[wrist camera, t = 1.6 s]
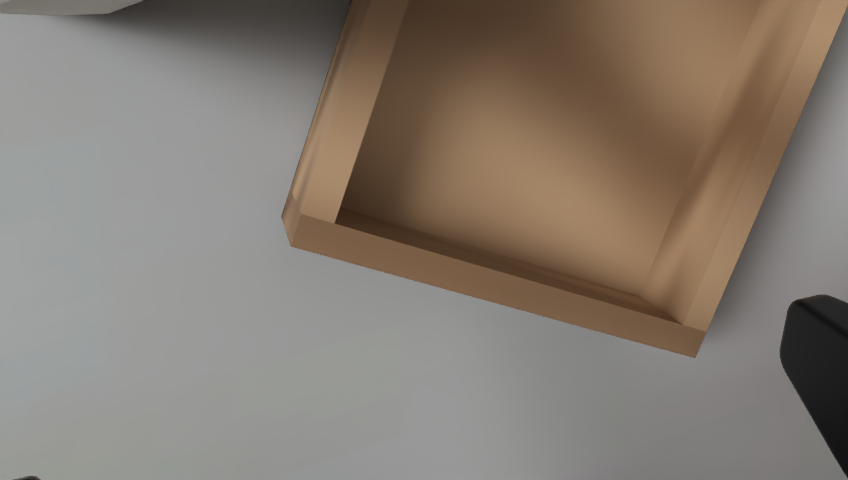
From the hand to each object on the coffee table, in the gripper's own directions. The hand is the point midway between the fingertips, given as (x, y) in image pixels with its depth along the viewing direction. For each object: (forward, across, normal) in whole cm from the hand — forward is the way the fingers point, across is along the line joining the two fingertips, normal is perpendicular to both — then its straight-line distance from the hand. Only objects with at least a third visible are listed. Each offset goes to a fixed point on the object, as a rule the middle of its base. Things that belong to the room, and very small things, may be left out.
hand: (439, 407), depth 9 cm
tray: (+13, -6, +2) cm, 14 cm away
